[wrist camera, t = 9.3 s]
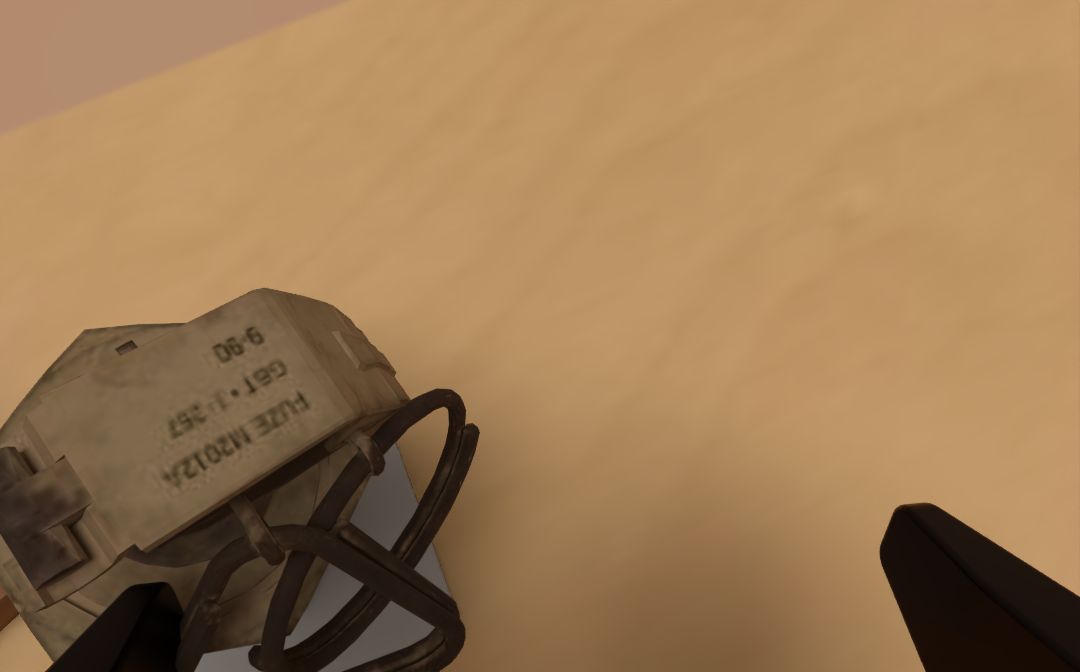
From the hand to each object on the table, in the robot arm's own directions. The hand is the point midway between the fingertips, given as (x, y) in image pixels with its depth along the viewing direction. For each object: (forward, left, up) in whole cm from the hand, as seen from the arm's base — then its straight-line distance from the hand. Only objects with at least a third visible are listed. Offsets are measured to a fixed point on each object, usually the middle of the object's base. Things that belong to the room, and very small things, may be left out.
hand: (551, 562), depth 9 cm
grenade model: (-2, +7, -13) cm, 15 cm away
